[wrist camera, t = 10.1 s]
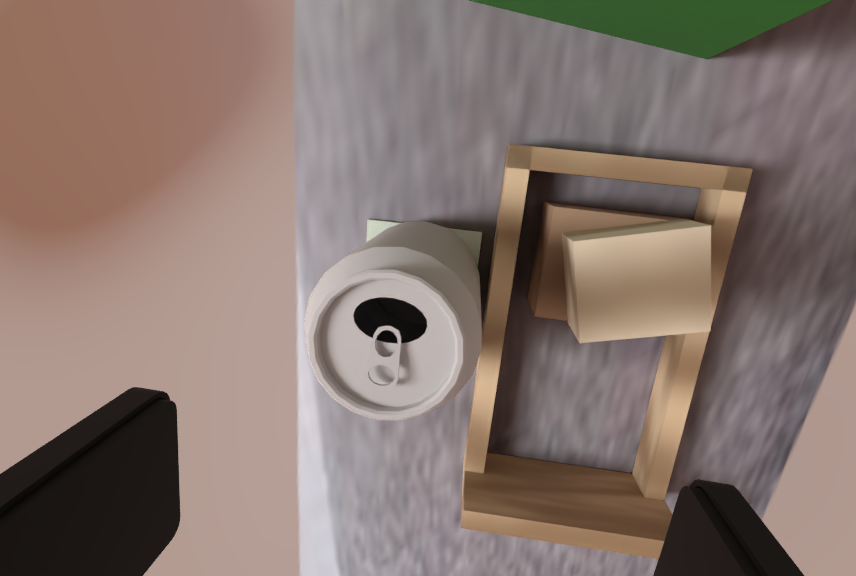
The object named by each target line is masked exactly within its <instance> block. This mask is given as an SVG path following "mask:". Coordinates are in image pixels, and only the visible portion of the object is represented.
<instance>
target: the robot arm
mask: <svg viewBox="0 0 856 576" xmlns="http://www.w3.org/2000/svg"><path fill="white" fill-rule="evenodd" d="M179 522H180V496H179V465H178V435H177V409H176V405H175V403H174V402H173V401H170V398H169V396H168V394H167V393H165V392H163V391H157V390H151V389H145V388H138V387H133V388H131V389H129V390H127V391H125V392H124V393H122V394H121V395H119V396H118V397H116V398H115V399H113V400H112V401H110V402H109V403H107V404H106V405H104V406H103V407H101V408H100V409H98V410H97V411H95V412H94V413H92V414H91V415H89V416H88V417H86V418H84V419H83V420H81V421H80V422H78V423H77V424H76V425H74V426H72V427H71V428H69V429H68V430H66V431H65V432H63V433H62V434H60V435H59V436H57V437H56V438H54V439H53V440H51V441H50V442H48V443H47V444H45V445H44V446H42V447H40V448H39V449H37V450H36V451H34V452H33V453H31V454H30V455H28V456H27V457H25V458H24V459H22V460H21V461H19V462H18V463H16V464H15V465H13V466H12V467H10V468H9V469H7V470H6V471H4V472H3V473H1V474H0V576H143V575H144V573H145V572H146V571H147V570H148V568H149V567H150V566H151V565H152V563H153V562H154V561H155V559H157V557H158V556H159V555H160V554H161V552H162V551H163V550H164V549H165V547H166V546H167V545H168V544H169V542H170V541H171V540H172V538H173V537H174V535H175V533H176V531H177V529H178V526H179ZM654 576H804V575H803V573H802V572H801V571H800V570H799V568H798V567H797V566H796V564H795V563H794V562H793V561H792V559H791V558H790V557H789V555H788V554H787V553H786V551H785V550H784V549H783V548H782V546H781V545H780V544H779V542H778V541H777V540H776V539H775V537H774V536H773V535H772V533H771V532H770V531H769V530H768V528H767V527H766V526H765V525H764V523H763V522H762V520H761V519H760V518H759V517H758V515H757V514H756V513H755V511H754V510H753V509H752V508H751V506H750V505H749V504H748V502H747V501H746V500H745V498H744V497H743V496H742V495H741V493H740V492H739V491H738V490H737V489H736V488H735V487H734V486H732V485H729V484H722V483H716V482H710V481H704V480H694V481H693V482H692V484H691V485H690V487H688V486H685V487H683V488H682V489H681V491H680V493H679V496H678V499H677V502H676V505H675V509H674V512H673V515H672V518H671V521H670V525H669V528H668V531H667V534H666V537H665V541H664V544H663V547H662V550H661V553H660V556H659V560H658V563H657V566H656V569H655V572H654Z"/></svg>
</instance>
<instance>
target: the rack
mask: <svg viewBox="0 0 856 576" xmlns="http://www.w3.org/2000/svg"><path fill="white" fill-rule="evenodd" d="M530 170H533V171H543V172H552V173H562V174H571V175H581V176H590V177H600V178H609V179H619V180H628V181H638V182H647V183H657V184H666V185H676V186H685V187H694V188H701V192H700V196H699V200H698V205H697V209H696V213H695V217H694V221H697V222H701V223H705V224H709V225H713V229H712V233H711V324H712V320H713V316H714V313H715V309H716V305H717V301H718V298H719V294H720V290H721V286H722V283H723V279H724V275H725V271H726V268H727V264H728V260H729V256H730V253H731V249H732V245H733V241H734V238H735V234H736V230H737V226H738V223H739V219H740V215H741V211H742V208H743V204H744V200H745V197H746V193H747V189H748V185H749V182H750V178H751V174H752V170H753V169H749V168H739V167H730V166H720V165H710V164H700V163H690V162H681V161H671V160H661V159H651V158H641V157H632V156H622V155H612V154H602V153H592V152H583V151H573V150H563V149H553V148H543V147H534V146H524V145H514V144H510V145H509V146H507V153H506V161H505V168H504V175H503V182H502V189H501V197H500V204H499V211H498V218H497V225H496V233H495V240H494V247H493V254H492V261H491V269H490V276H489V283H488V290H487V297H486V305H485V312H484V319H483V326H482V337H481V353H480V356H479V358H478V362H477V370H476V377H475V384H474V391H473V398H472V406H471V413H470V420H469V427H468V434H467V442H466V449H465V456H464V463H463V485H462V511H461V528H464V529H470V530H477V531H483V532H489V533H496V534H502V535H509V536H515V537H521V538H528V539H534V540H541V541H547V542H553V543H560V544H566V545H572V546H579V547H585V548H592V549H598V550H604V551H611V552H617V553H624V554H630V555H636V556H643V557H649V558H655V559H659V556H660V553H661V550H662V547H663V544H664V541H665V537H666V534H667V531H668V528H669V525H670V521H671V518H672V513H671V511H670V510H669V508H668V506H667V504H666V503H665V501H664V500H665V496H666V492H667V489H668V485H669V481H670V477H671V474H672V470H673V466H674V463H675V459H676V455H677V451H678V448H679V444H680V440H681V436H682V433H683V429H684V425H685V421H686V418H687V414H688V410H689V406H690V403H691V399H692V395H693V391H694V388H695V384H696V380H697V376H698V373H699V369H700V365H701V361H702V358H703V354H704V350H705V346H706V343H707V339H708V335H709V332H698V333H687V334H685V335H684V336H676V335H666V336H665V340H664V345H663V349H662V353H661V357H660V361H659V365H658V369H657V373H656V378H655V382H654V386H653V390H652V394H651V398H650V402H649V406H648V411H647V415H646V419H645V423H644V427H643V431H642V435H641V439H640V443H639V448H638V452H637V456H636V460H635V464H634V468H633V472H632V474H631V473H624V472H617V471H610V470H603V469H597V468H590V467H583V466H576V465H569V464H562V463H555V462H548V461H542V460H535V459H528V458H521V457H514V456H507V455H500V454H494V453H487V448H488V441H489V435H490V428H491V421H492V415H493V408H494V402H495V395H496V388H497V382H498V375H499V369H500V362H501V356H502V349H503V342H504V336H505V329H506V323H507V316H508V309H509V303H510V296H511V290H512V283H513V277H514V270H515V263H516V257H517V250H518V244H519V237H520V230H521V224H522V217H523V211H524V204H525V198H526V191H527V184H528V178H529V171H530Z"/></svg>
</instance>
